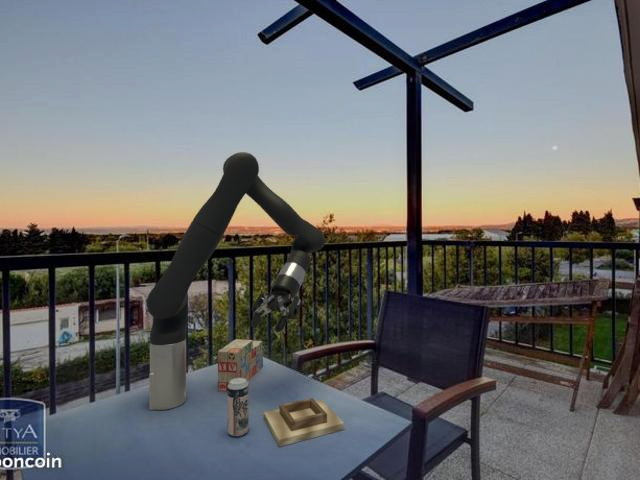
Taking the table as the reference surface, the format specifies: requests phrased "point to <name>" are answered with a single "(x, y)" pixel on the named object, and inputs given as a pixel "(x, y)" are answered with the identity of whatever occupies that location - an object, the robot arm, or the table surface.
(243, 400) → the beer can
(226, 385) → the stack of blocks
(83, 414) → the table surface
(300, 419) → the base board
